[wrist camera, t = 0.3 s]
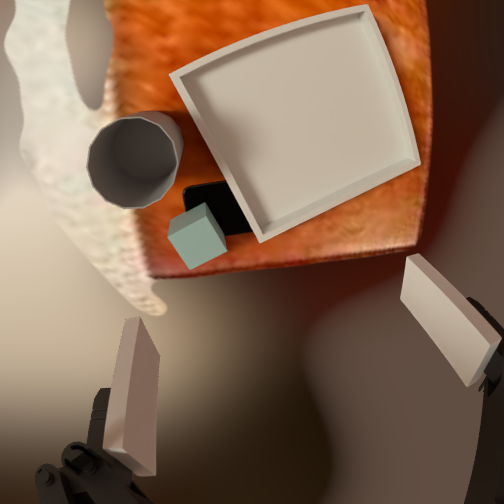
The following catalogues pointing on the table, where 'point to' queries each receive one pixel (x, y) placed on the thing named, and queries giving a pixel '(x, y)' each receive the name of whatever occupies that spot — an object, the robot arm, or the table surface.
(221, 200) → the smartphone
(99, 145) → the cup
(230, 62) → the shallow white dish
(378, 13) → the table surface
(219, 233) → the block
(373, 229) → the table surface
